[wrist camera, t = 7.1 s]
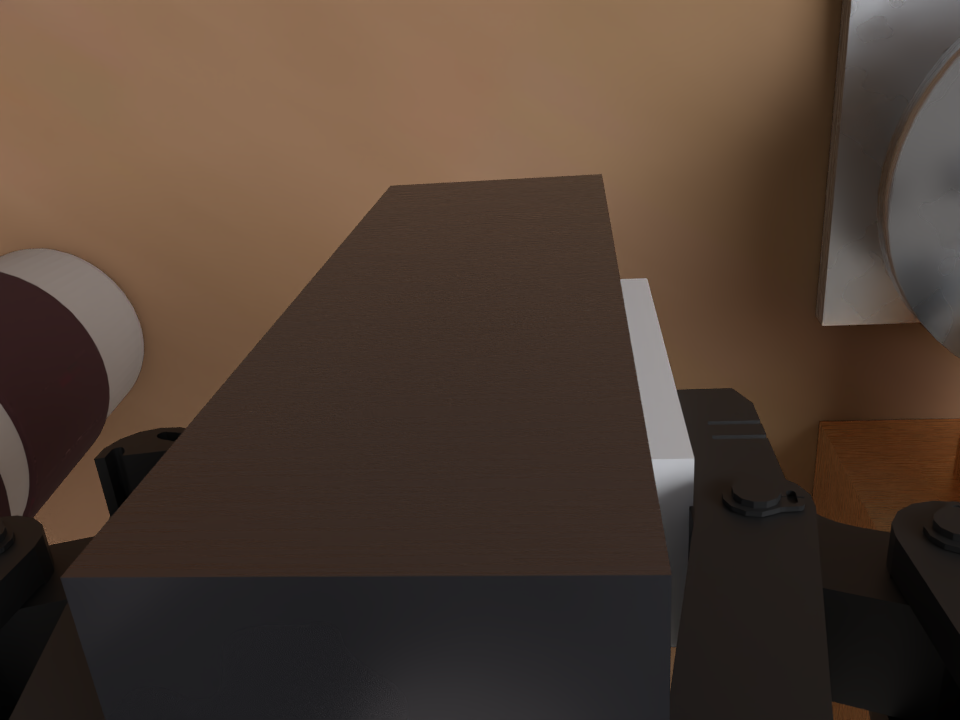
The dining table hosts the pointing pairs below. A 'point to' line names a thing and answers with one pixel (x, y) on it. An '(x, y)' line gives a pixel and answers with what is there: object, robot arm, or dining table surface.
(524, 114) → the dining table surface
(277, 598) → the dark grey block
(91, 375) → the coffee cup
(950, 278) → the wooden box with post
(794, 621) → the robot arm
